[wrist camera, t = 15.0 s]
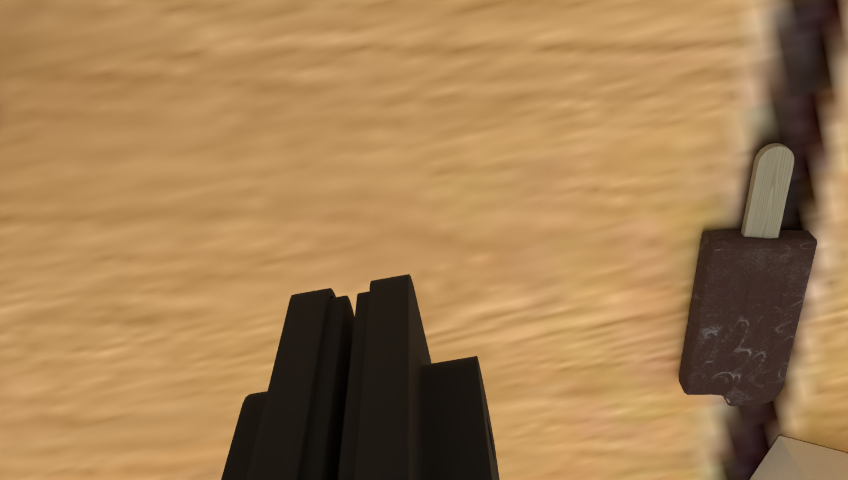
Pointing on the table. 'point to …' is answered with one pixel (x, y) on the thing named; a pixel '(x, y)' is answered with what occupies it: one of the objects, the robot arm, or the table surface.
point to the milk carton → (801, 462)
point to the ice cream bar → (748, 294)
